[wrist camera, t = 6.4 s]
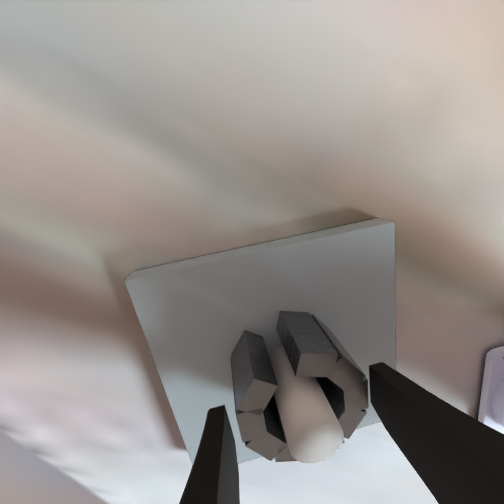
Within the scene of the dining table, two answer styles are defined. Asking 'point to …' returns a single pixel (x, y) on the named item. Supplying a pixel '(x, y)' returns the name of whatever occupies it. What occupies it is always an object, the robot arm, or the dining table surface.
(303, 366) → the split ring
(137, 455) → the dining table surface
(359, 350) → the stand
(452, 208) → the dining table surface
